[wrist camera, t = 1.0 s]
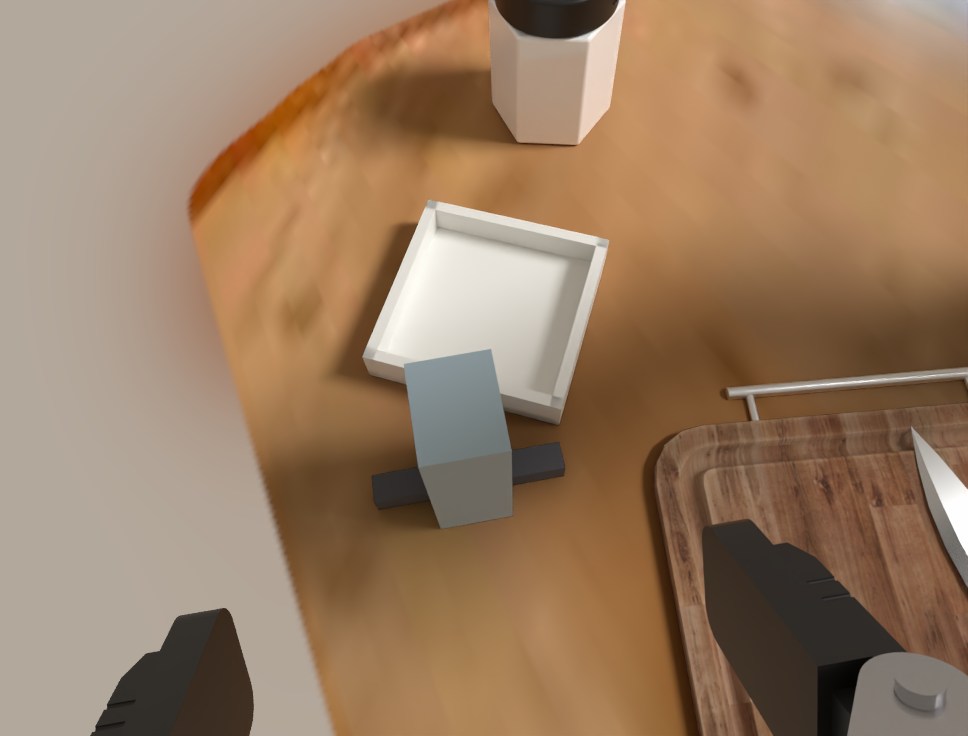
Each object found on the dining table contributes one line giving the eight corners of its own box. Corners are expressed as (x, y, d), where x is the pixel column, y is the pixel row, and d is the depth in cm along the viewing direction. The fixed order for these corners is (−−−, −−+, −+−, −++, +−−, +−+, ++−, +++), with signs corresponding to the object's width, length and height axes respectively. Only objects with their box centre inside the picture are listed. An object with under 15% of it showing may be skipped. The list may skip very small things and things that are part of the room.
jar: (626, 127, 55) (653, -19, 45) (528, 165, 54) (532, 24, 43) (571, 52, 59) (583, -100, 48) (478, 85, 58) (469, -62, 47)
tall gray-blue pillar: (496, 432, 45) (491, 349, 35) (512, 515, 43) (511, 450, 33) (428, 445, 45) (403, 363, 35) (440, 529, 43) (418, 467, 33)
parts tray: (432, 222, 52) (428, 199, 50) (605, 261, 50) (609, 239, 48) (369, 374, 47) (362, 356, 45) (559, 425, 45) (561, 409, 43)
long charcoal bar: (558, 450, 44) (559, 441, 43) (563, 475, 44) (565, 467, 42) (375, 483, 44) (371, 475, 43) (378, 509, 43) (374, 502, 42)
